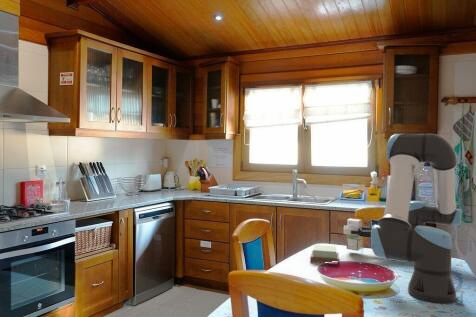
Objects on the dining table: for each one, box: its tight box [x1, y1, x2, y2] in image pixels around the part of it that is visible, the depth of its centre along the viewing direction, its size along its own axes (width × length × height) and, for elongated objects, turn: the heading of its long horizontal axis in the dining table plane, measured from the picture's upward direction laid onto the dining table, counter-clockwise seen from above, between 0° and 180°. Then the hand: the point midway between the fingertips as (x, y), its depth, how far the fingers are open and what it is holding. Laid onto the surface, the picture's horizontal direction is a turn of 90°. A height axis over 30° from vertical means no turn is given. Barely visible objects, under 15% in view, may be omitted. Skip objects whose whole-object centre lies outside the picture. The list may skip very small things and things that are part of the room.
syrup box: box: [346, 217, 363, 251], centre depth 195 cm, size 6×6×14 cm
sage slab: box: [312, 244, 337, 259], centre depth 183 cm, size 10×10×3 cm
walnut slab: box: [310, 250, 340, 264], centre depth 183 cm, size 12×12×3 cm
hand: (343, 229), depth 196 cm, fingers closed on syrup box, 7 cm apart
